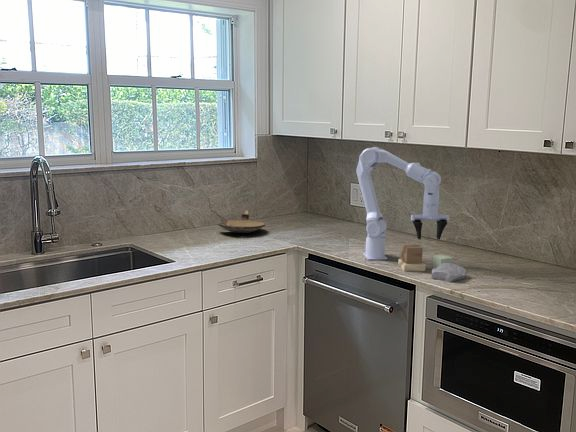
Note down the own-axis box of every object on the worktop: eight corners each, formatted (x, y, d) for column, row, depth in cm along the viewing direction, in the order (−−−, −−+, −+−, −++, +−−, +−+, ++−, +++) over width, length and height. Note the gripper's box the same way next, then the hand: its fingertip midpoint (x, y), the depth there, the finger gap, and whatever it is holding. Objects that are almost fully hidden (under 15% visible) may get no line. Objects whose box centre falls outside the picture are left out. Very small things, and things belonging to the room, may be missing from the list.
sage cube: (432, 268, 214) (433, 255, 213) (443, 267, 216) (444, 254, 215) (440, 272, 209) (441, 258, 208) (451, 270, 211) (452, 257, 210)
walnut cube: (400, 259, 215) (401, 244, 214) (416, 259, 216) (417, 244, 215) (406, 263, 210) (407, 248, 209) (421, 263, 210) (422, 247, 209)
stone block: (467, 281, 205) (441, 270, 210) (470, 269, 203) (444, 259, 209) (454, 290, 196) (428, 279, 201) (458, 277, 194) (431, 267, 199)
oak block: (398, 266, 217) (398, 258, 216) (418, 266, 218) (419, 258, 217) (404, 272, 209) (404, 264, 209) (425, 272, 210) (425, 264, 209)
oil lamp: (208, 235, 264) (207, 219, 263) (239, 224, 291) (239, 209, 290) (250, 240, 255) (250, 223, 254) (278, 228, 282) (278, 213, 281)
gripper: (415, 205, 211) (413, 241, 214) (453, 205, 212) (450, 241, 215) (409, 202, 218) (407, 237, 220) (446, 202, 219) (444, 237, 222)
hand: (428, 238), depth 218 cm, fingers open, 7 cm apart
